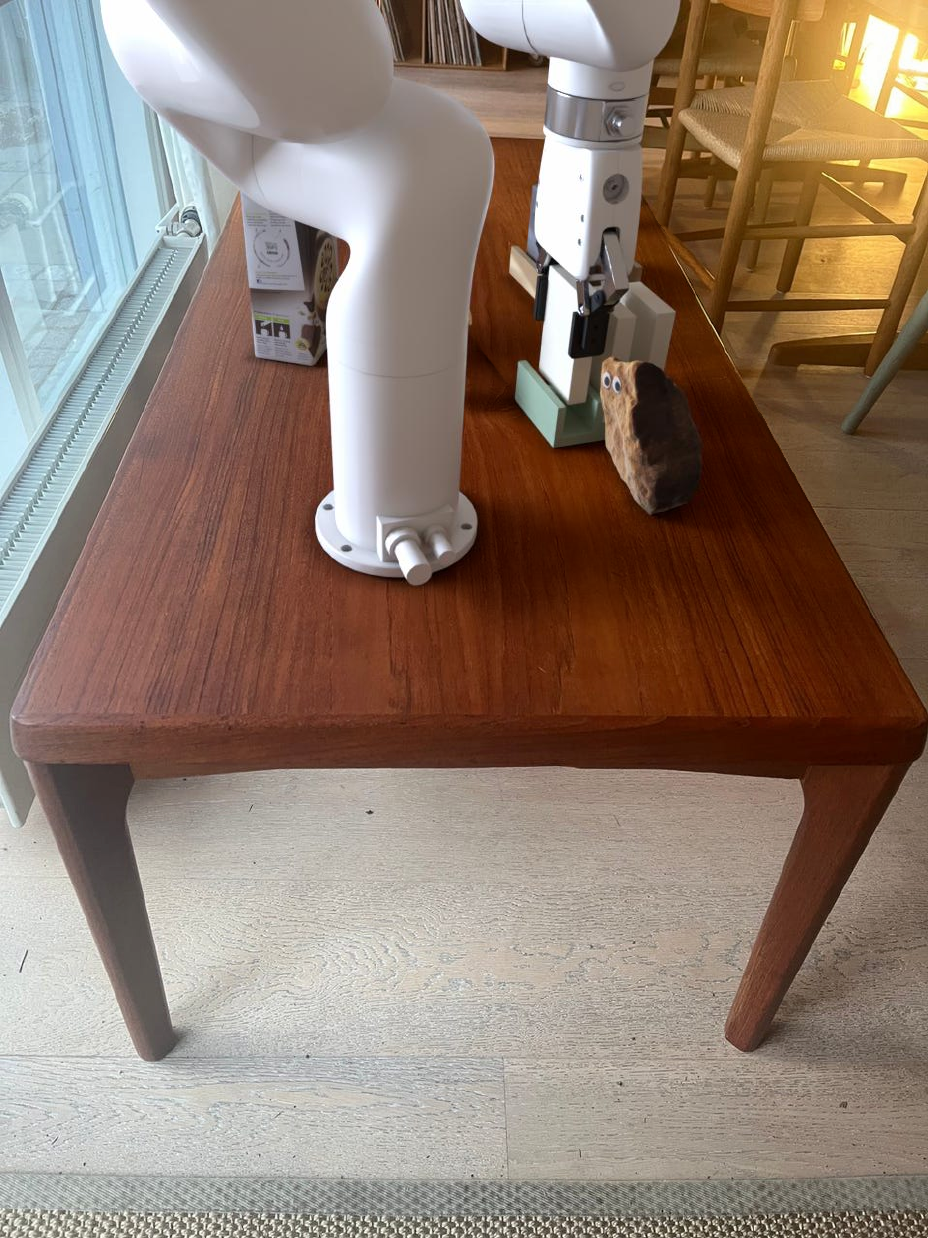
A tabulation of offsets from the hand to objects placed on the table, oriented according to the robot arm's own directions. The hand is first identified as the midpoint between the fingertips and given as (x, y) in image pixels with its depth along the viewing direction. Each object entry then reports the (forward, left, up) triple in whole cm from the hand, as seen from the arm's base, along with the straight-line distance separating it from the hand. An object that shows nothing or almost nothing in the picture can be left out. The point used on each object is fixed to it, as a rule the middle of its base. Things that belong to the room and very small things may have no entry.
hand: (567, 334), depth 85 cm
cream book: (0, 0, -5) cm, 5 cm away
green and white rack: (0, -4, -8) cm, 9 cm away
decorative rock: (-11, -3, -9) cm, 14 cm away
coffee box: (+21, +19, -9) cm, 30 cm away
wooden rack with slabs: (+26, -14, -8) cm, 30 cm away
